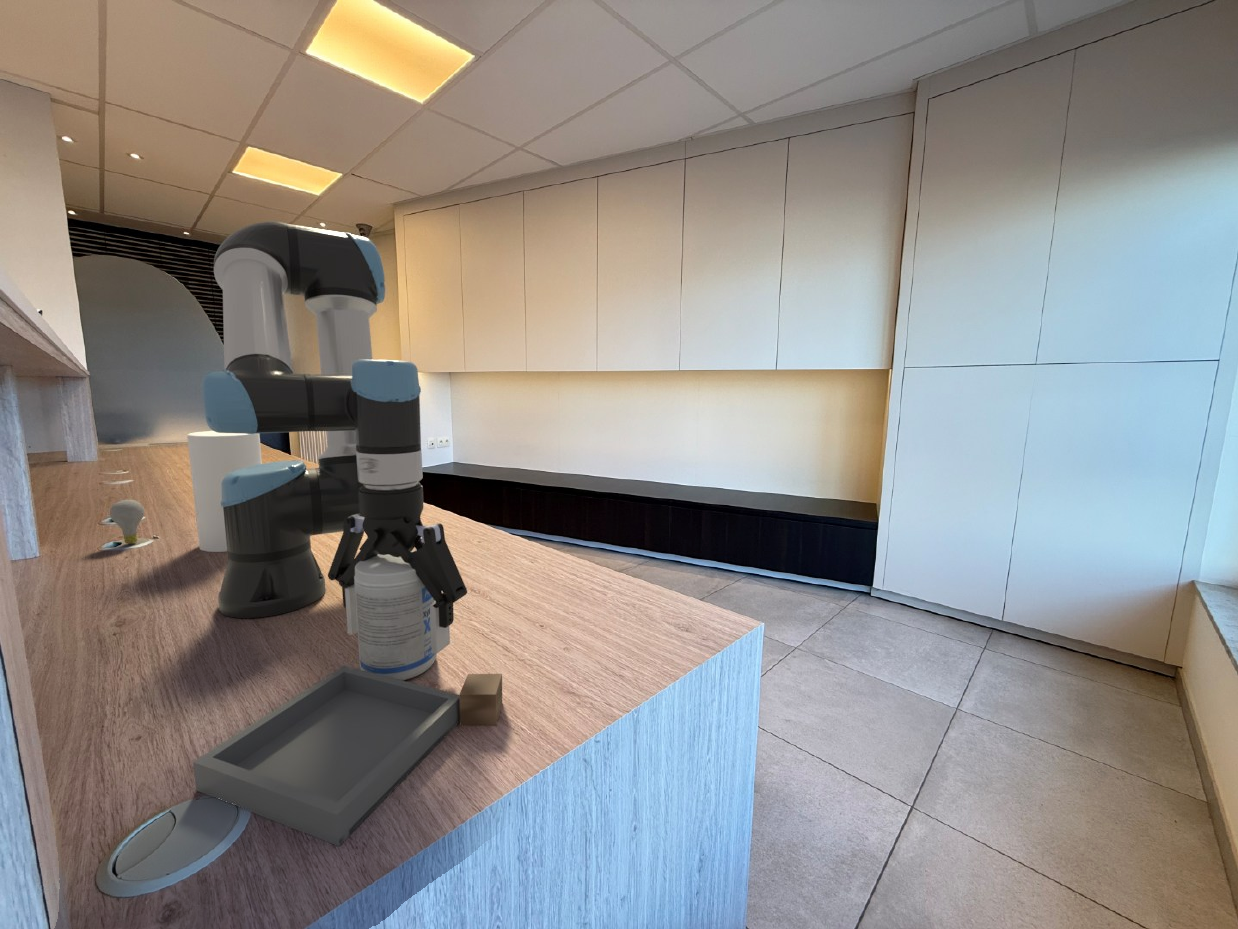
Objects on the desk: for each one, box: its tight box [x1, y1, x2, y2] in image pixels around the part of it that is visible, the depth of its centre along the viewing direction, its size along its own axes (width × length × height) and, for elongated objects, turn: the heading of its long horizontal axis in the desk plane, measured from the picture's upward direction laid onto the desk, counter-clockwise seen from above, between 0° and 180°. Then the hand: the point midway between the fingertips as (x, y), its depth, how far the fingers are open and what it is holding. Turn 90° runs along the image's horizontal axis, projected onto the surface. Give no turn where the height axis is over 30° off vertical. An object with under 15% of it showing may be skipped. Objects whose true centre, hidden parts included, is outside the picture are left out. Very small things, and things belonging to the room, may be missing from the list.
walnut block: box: [458, 673, 503, 727], centre depth 59 cm, size 4×4×4 cm
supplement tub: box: [354, 550, 438, 681], centre depth 67 cm, size 10×10×15 cm
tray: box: [192, 665, 460, 847], centre depth 52 cm, size 17×17×3 cm
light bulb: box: [109, 499, 145, 545], centre depth 111 cm, size 6×6×10 cm
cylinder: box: [186, 430, 263, 553], centre depth 113 cm, size 12×12×25 cm
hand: (398, 639), depth 68 cm, fingers open, 13 cm apart
